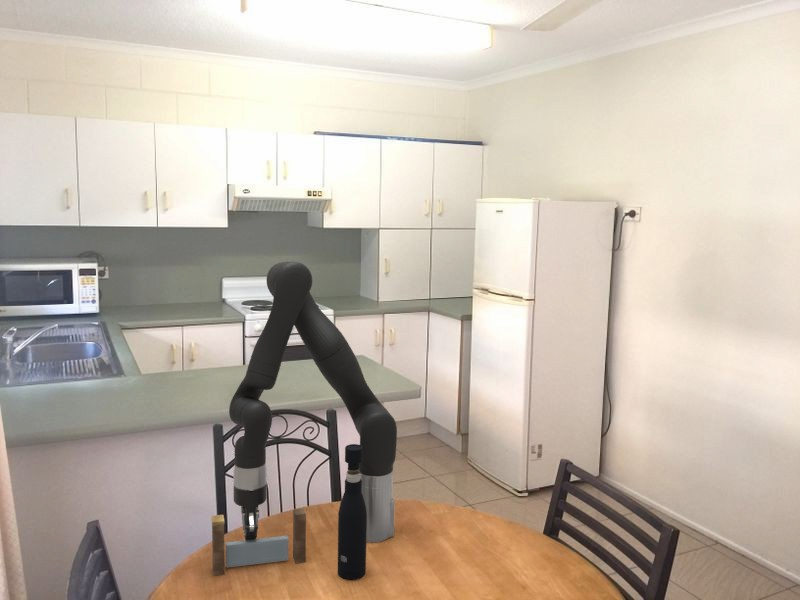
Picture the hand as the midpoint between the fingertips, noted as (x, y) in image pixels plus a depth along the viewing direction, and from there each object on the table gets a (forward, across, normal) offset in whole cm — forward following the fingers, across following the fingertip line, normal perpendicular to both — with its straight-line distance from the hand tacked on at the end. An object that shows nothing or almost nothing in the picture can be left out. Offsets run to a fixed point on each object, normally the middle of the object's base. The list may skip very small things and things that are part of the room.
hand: (250, 550), depth 159 cm
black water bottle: (+2, +12, +22) cm, 25 cm away
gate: (+1, +4, +1) cm, 4 cm away
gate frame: (+2, +4, +2) cm, 5 cm away
